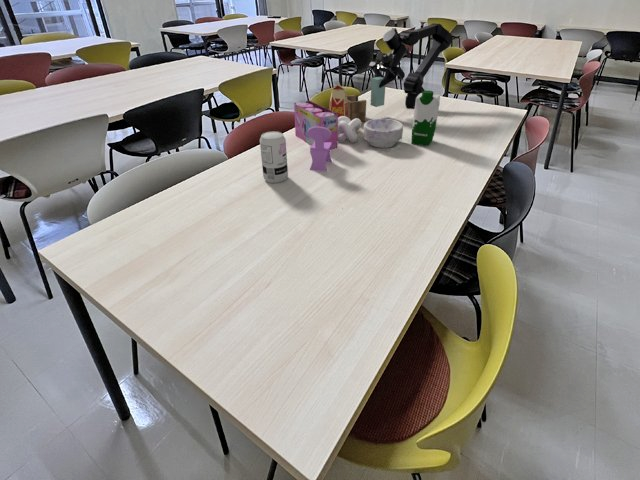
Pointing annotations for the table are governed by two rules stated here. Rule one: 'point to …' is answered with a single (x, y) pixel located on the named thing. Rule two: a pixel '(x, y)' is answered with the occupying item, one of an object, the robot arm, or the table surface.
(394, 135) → the marble bowl
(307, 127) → the gum box
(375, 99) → the teal rectangular block
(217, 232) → the table surface
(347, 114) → the milk carton
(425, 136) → the soya milk
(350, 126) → the white knot sculpture
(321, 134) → the toy chair
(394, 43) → the robot arm
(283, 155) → the supplement can
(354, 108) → the cabinet carcass
